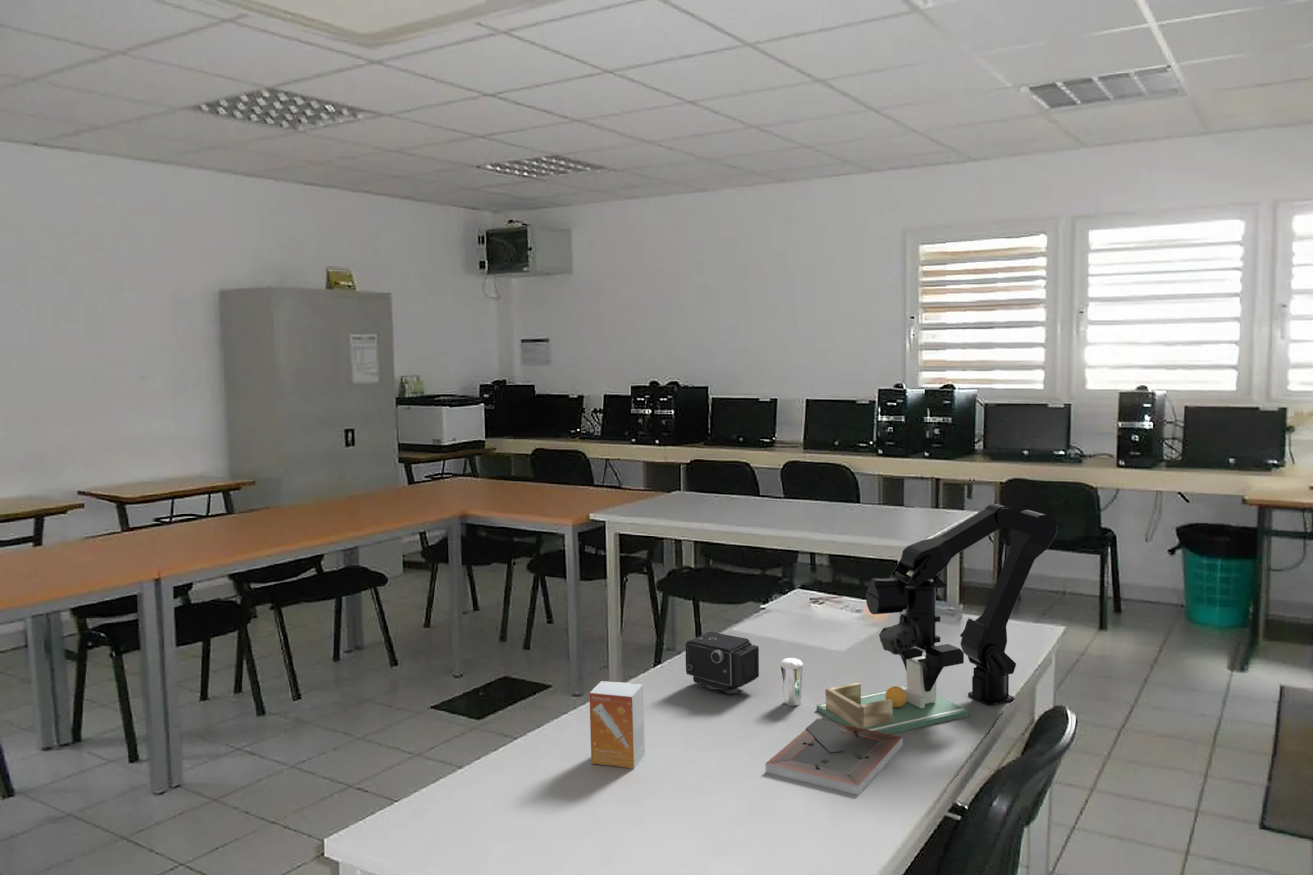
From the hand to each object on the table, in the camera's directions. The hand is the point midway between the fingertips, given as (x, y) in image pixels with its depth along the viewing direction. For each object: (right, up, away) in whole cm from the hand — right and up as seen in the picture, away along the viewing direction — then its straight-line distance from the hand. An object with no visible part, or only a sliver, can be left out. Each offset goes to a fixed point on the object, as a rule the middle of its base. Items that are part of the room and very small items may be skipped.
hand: (920, 687), depth 186 cm
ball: (-5, -1, -2) cm, 6 cm away
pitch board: (-6, -4, -2) cm, 8 cm away
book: (-21, -8, -21) cm, 31 cm away
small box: (-59, -8, -19) cm, 62 cm away
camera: (-38, -4, +13) cm, 40 cm away
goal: (-13, -4, -5) cm, 15 cm away
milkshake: (-24, -4, +4) cm, 25 cm away
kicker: (0, -3, 0) cm, 3 cm away
